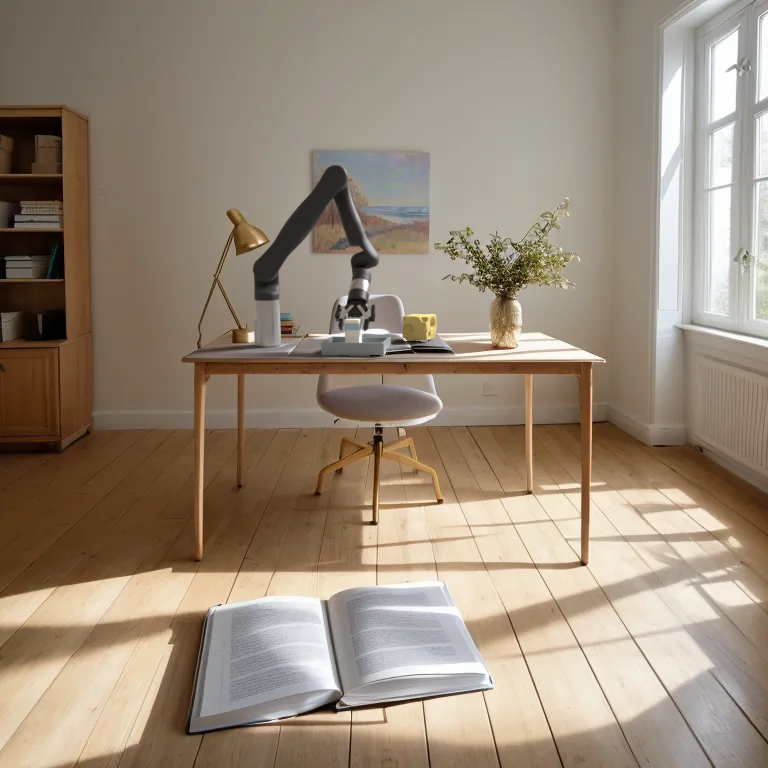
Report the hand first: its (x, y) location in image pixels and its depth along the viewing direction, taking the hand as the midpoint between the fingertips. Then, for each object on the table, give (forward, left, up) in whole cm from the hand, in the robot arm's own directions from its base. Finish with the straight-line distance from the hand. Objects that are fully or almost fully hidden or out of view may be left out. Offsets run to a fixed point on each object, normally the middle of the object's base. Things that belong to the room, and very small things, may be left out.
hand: (352, 329), depth 288 cm
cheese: (+19, +33, -9) cm, 39 cm away
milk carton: (0, +1, -7) cm, 8 cm away
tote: (+1, +1, -8) cm, 8 cm away
